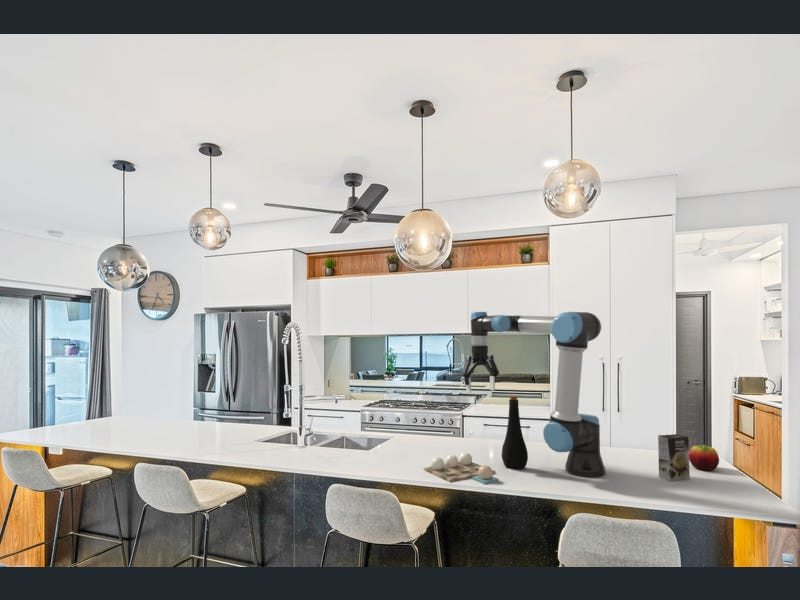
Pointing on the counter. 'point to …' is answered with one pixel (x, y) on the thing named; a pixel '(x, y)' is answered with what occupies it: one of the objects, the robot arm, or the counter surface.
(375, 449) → the counter surface
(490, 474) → the brown egg
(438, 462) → the cream egg
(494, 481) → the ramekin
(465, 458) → the cream egg
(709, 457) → the fruit
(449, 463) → the cream egg
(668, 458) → the coffee box
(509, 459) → the bottle
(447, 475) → the carton
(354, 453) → the counter surface
